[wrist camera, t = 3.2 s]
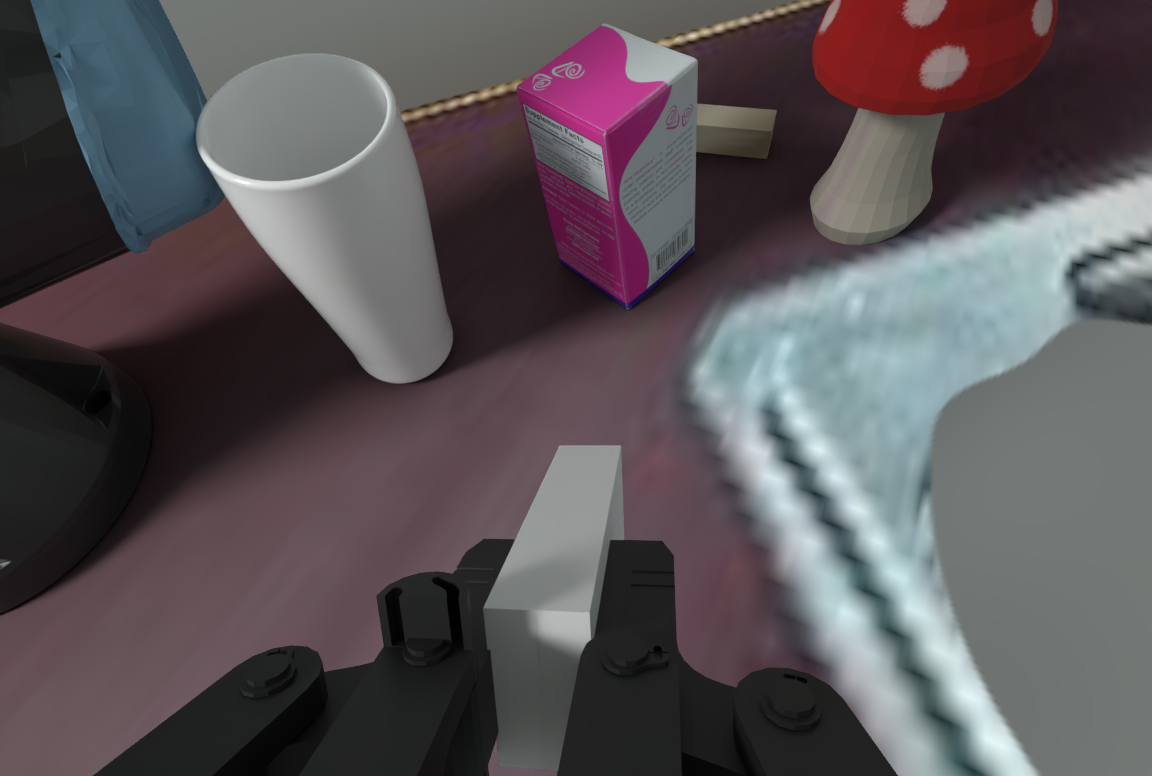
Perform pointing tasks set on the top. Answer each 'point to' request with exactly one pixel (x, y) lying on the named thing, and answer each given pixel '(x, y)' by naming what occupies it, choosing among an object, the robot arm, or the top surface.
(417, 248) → the drinking glass
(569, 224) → the supplement box
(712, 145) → the bar
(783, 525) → the top surface
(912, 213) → the decorative mushroom
